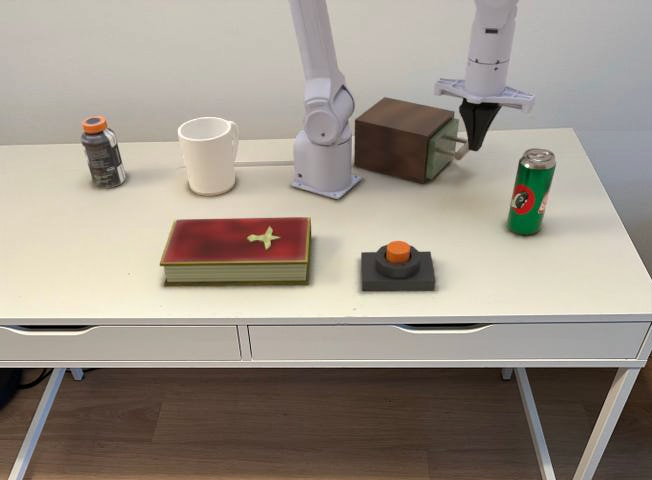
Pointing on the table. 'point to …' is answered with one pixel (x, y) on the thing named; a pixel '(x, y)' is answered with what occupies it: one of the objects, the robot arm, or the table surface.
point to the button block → (397, 271)
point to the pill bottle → (102, 153)
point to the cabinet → (397, 137)
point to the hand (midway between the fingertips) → (475, 148)
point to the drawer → (444, 148)
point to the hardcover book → (238, 252)
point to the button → (398, 252)
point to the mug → (209, 154)
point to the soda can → (531, 191)
